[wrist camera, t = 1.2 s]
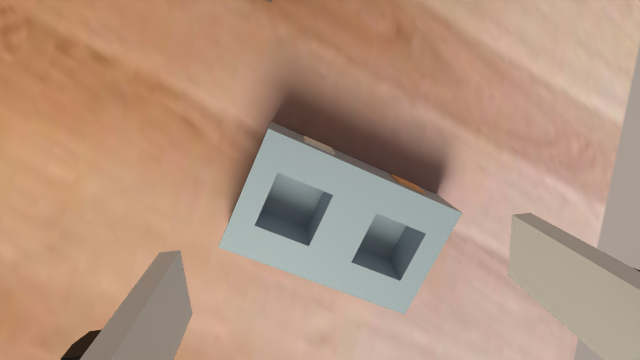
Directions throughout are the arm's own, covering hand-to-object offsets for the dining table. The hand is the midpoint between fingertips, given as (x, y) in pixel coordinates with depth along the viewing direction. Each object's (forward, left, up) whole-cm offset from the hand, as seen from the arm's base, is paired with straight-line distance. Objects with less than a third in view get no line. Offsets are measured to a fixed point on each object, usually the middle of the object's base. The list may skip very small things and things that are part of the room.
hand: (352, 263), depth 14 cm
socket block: (+5, -5, -25) cm, 26 cm away
